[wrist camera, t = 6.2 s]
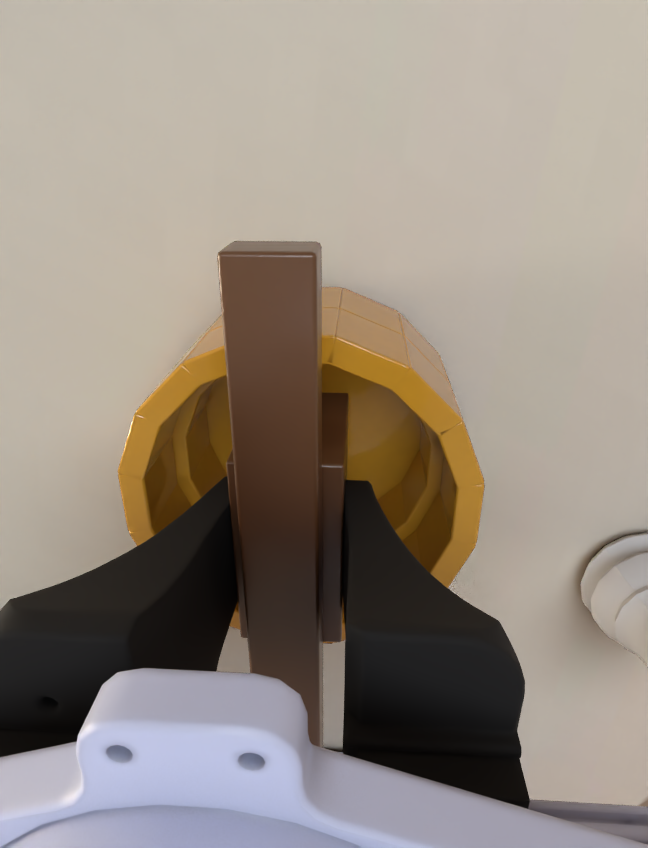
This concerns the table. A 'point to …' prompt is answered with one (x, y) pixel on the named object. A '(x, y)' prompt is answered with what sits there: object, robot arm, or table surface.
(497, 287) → the table surface
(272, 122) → the table surface
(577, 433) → the table surface
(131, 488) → the bowl
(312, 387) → the tall wooden post
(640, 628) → the rook chess piece
